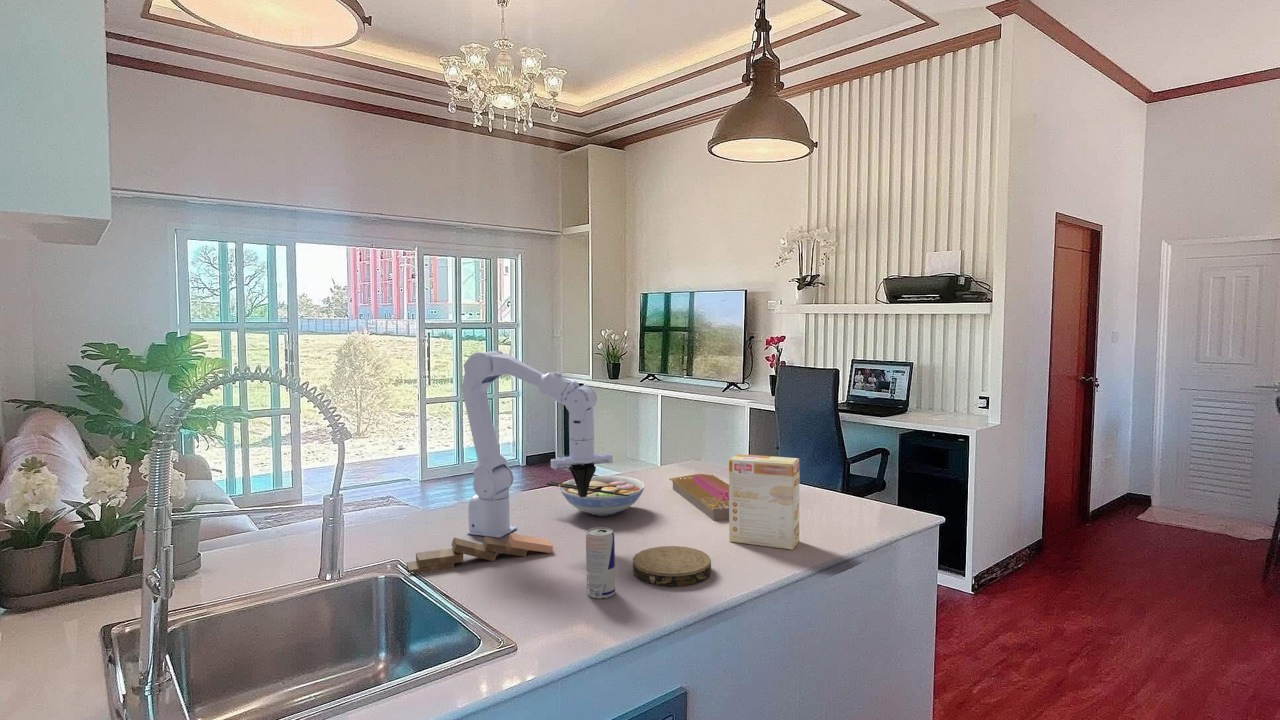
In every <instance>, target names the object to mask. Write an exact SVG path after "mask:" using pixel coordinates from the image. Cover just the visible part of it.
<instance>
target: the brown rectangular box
mask: <svg viewBox="0 0 1280 720" xmlns="http://www.w3.org/2000/svg"><path fill="white" fill-rule="evenodd" d="M668 480H669V481H671V482H672V491H674V492H676V493H677V494H678V495H680V496H681V497H682V498H684V499H685V500H686V501H687V502H689V503H690V504H691V505H692V506H694V507H695V508H697V509H698V510H699V511H700V512H702V513H703V514H704V515H705V516H707V517H708V518H709V519H711V521H715V522H716V521H725V520H729V483H727V482H725V481H723V480H722V479H720V478H719V477H718V476H715V475H713V474H707V473H695V474H691V475H690V474H689V475H683V476H677V477H671V478H668ZM727 506H728V507H727Z"/></svg>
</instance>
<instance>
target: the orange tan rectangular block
mask: <svg viewBox="0 0 1280 720" xmlns="http://www.w3.org/2000/svg"><path fill="white" fill-rule="evenodd" d="M507 540H508V541H509V543H510V545H511V547H514V548H520V549H527V551H532V552H533V551H534V552H540V553H547V554H552V551H553V549H554V546H553V544H552V542H551V541H550V539H547V538H542V537H536V536H535V537H534V536H529V535H523V534H517V533H512V532H509V536H508V539H507Z"/></svg>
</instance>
